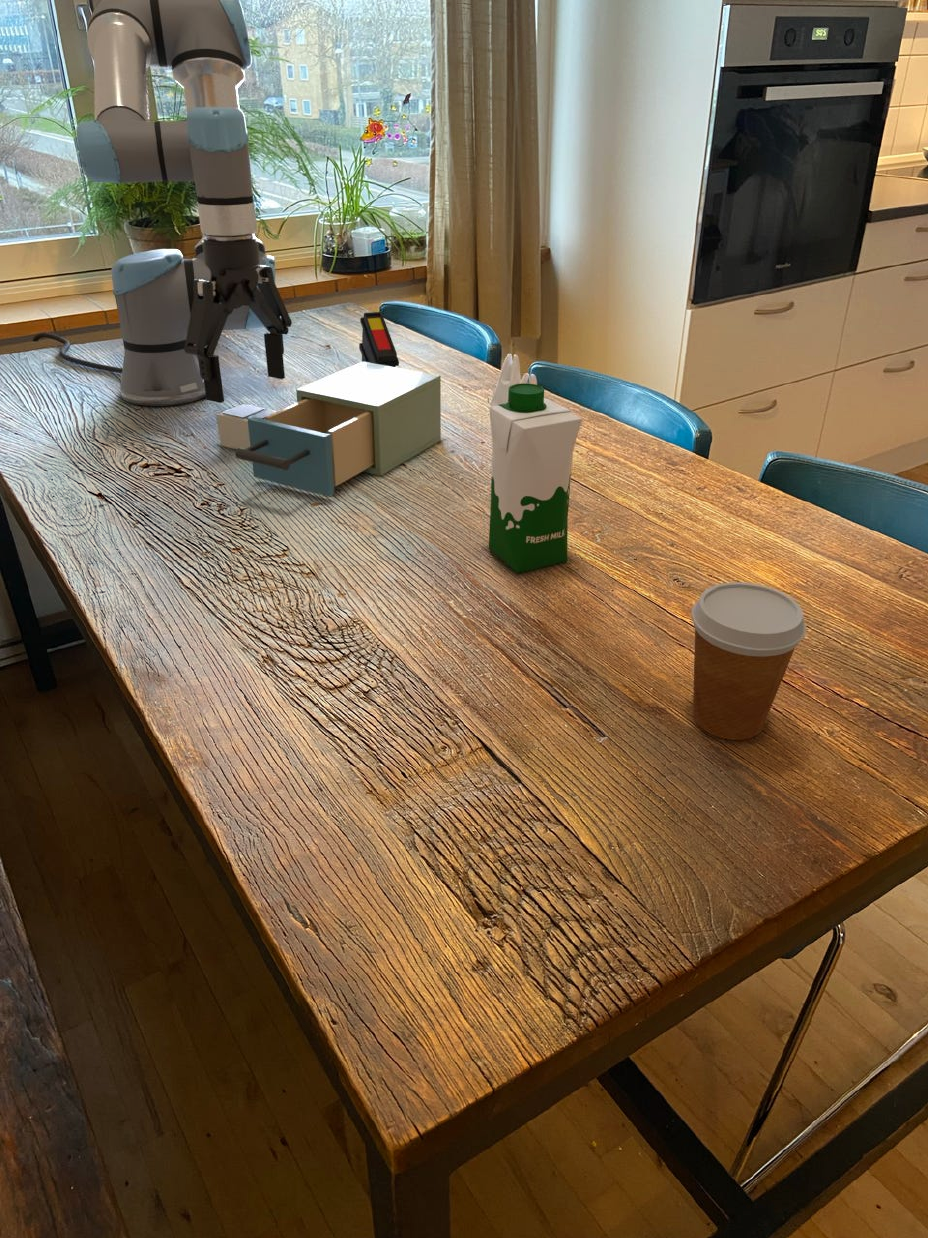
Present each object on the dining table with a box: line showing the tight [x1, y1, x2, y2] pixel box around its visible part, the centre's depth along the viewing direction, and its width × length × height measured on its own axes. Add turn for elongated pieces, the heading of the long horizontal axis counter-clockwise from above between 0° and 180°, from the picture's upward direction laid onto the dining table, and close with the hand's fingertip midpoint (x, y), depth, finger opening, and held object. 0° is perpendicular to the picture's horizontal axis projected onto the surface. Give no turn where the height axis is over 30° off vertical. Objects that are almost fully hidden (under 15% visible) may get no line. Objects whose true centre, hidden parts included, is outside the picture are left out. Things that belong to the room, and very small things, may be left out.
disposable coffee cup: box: [691, 581, 807, 741], centre depth 81 cm, size 10×10×12 cm
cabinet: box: [295, 361, 442, 477], centre depth 138 cm, size 17×14×10 cm
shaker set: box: [489, 353, 538, 407], centre depth 147 cm, size 12×4×11 cm, turn 22°
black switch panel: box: [358, 311, 400, 367], centre depth 155 cm, size 4×13×15 cm, turn 19°
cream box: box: [216, 403, 278, 450], centre depth 140 cm, size 8×6×5 cm
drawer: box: [234, 398, 375, 497], centre depth 127 cm, size 21×13×8 cm, turn 150°
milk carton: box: [488, 383, 583, 574], centre depth 106 cm, size 9×9×20 cm
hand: (247, 388), depth 136 cm, fingers open, 13 cm apart
